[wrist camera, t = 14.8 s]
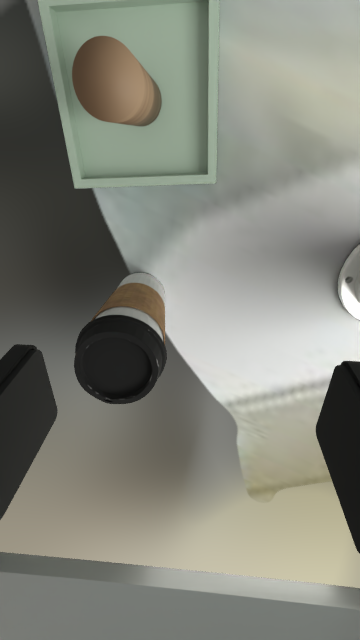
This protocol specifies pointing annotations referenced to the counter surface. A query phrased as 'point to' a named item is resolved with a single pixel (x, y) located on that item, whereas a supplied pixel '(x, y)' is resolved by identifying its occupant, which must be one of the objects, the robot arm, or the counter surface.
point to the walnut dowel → (114, 83)
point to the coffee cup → (124, 342)
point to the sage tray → (165, 69)
